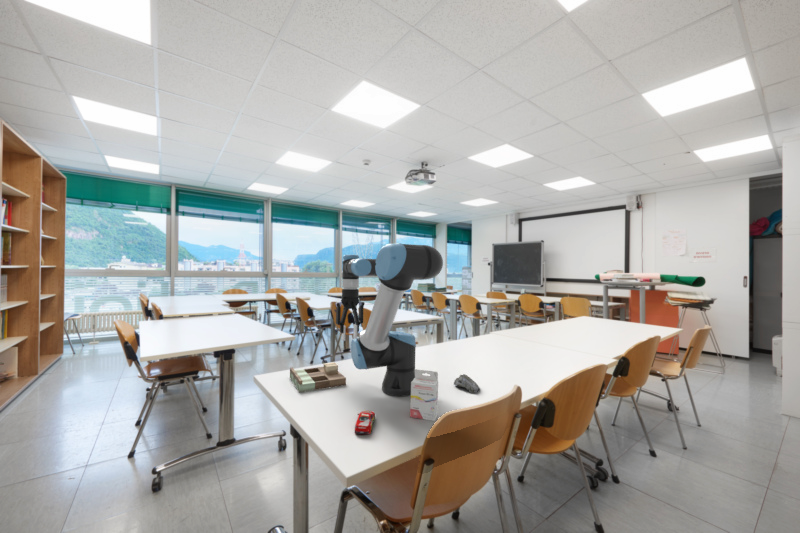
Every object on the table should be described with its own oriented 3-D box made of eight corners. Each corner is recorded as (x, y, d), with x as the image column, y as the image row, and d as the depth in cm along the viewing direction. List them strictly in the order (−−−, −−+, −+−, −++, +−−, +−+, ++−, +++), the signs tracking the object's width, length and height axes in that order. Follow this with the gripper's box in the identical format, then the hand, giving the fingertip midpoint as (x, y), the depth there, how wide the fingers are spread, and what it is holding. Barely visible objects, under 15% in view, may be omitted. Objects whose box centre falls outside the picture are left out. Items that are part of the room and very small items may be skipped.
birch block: (337, 373, 144) (338, 365, 144) (326, 374, 141) (326, 366, 141) (334, 370, 148) (334, 362, 148) (323, 371, 146) (323, 363, 146)
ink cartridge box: (409, 417, 108) (410, 372, 108) (413, 411, 113) (414, 368, 113) (435, 421, 105) (436, 375, 106) (438, 415, 110) (438, 371, 110)
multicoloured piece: (345, 385, 138) (345, 374, 138) (299, 392, 129) (299, 380, 129) (331, 371, 155) (331, 362, 155) (289, 377, 146) (290, 367, 146)
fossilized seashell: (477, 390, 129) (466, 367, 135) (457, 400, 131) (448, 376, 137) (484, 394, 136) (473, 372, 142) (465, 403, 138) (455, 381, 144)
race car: (360, 416, 109) (360, 404, 109) (376, 417, 109) (376, 405, 109) (352, 436, 96) (352, 422, 96) (370, 437, 95) (370, 423, 95)
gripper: (365, 287, 157) (364, 336, 157) (328, 288, 148) (327, 339, 148) (371, 288, 151) (370, 339, 150) (333, 289, 142) (332, 343, 142)
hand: (349, 339), depth 149 cm, fingers open, 5 cm apart
